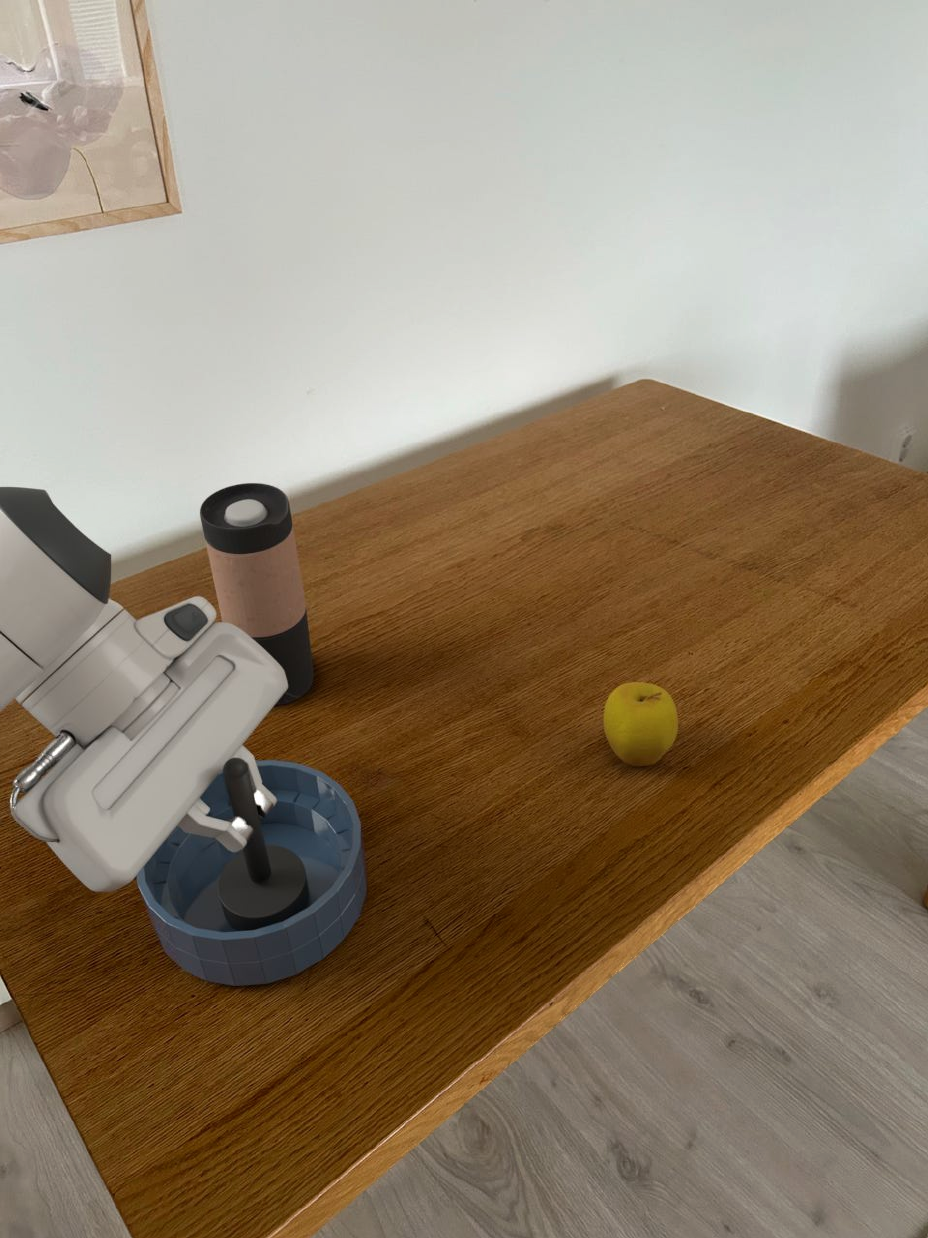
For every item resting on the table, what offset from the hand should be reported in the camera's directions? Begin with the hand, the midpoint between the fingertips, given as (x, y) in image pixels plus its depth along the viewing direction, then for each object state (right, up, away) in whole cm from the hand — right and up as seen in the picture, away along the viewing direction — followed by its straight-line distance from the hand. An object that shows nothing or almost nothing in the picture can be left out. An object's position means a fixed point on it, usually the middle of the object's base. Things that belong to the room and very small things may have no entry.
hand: (256, 826), depth 68 cm
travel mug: (-4, +8, +27) cm, 29 cm away
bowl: (-1, -7, +8) cm, 11 cm away
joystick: (0, -7, +6) cm, 9 cm away
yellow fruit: (+30, +2, +19) cm, 35 cm away
